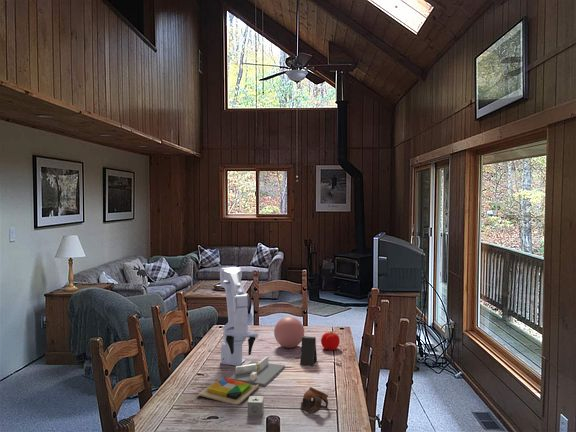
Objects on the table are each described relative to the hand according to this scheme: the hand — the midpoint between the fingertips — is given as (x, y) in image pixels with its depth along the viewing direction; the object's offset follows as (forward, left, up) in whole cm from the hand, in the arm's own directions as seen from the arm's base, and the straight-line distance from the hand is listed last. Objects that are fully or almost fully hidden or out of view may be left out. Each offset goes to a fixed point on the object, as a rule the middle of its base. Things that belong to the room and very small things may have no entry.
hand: (241, 353), depth 194 cm
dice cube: (+21, -31, -9) cm, 38 cm away
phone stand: (+23, +23, -9) cm, 34 cm away
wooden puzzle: (+4, -19, -10) cm, 21 cm away
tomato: (+27, +46, -9) cm, 54 cm away
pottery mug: (+40, -21, -9) cm, 45 cm away
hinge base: (+7, +2, -9) cm, 11 cm away
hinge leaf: (+4, -1, -7) cm, 8 cm away
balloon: (+6, +43, -9) cm, 45 cm away
